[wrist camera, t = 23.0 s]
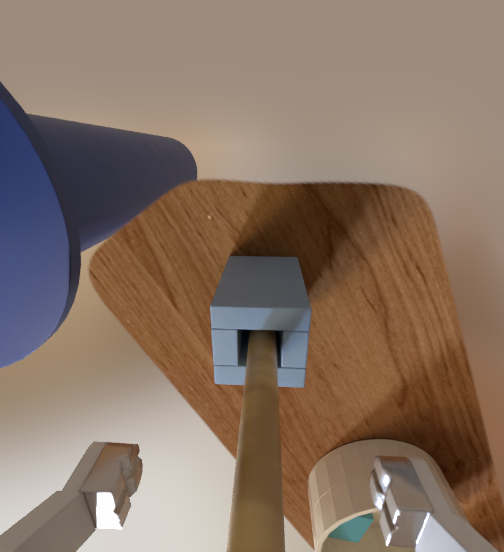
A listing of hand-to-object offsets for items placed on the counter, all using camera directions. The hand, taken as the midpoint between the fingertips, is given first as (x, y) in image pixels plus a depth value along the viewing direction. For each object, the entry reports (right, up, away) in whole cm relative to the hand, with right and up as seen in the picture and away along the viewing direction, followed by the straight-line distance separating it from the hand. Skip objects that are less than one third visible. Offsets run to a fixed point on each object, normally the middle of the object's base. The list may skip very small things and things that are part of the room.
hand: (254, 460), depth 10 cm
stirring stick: (+1, +4, +9) cm, 10 cm away
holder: (+1, +5, +13) cm, 14 cm away
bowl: (+13, -16, +22) cm, 30 cm away
